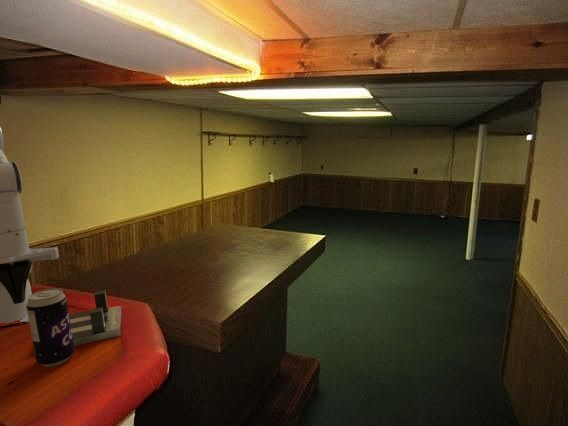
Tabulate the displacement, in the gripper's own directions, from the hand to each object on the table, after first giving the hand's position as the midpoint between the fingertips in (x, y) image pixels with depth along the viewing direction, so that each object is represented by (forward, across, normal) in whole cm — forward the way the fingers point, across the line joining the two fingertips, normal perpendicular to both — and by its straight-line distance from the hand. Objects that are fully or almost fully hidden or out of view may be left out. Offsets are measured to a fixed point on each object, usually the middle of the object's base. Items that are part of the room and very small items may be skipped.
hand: (19, 301), depth 70 cm
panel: (+8, +9, 0) cm, 12 cm away
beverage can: (+8, +6, -10) cm, 15 cm away
